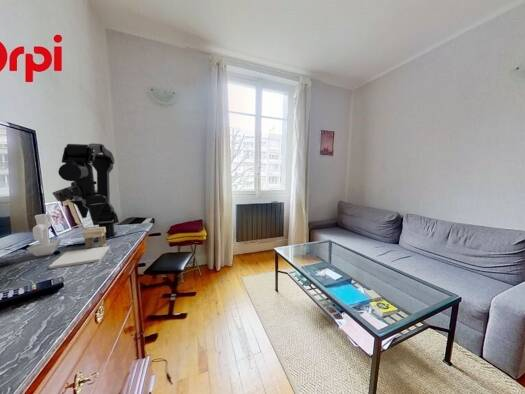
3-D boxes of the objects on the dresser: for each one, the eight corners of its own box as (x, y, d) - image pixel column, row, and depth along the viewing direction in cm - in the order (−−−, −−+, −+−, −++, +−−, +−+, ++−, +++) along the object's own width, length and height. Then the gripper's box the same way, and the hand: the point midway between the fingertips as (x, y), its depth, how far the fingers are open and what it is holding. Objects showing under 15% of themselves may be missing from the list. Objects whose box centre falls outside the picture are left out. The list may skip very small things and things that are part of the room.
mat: (67, 253, 76) (66, 251, 76) (109, 248, 82) (108, 246, 82) (48, 268, 64) (48, 266, 64) (99, 261, 70) (99, 258, 70)
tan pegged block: (89, 244, 86) (87, 228, 85) (107, 242, 88) (105, 226, 87) (84, 249, 80) (82, 232, 79) (103, 246, 83) (101, 230, 82)
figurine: (26, 259, 71) (19, 218, 69) (39, 250, 79) (33, 212, 77) (53, 255, 75) (48, 215, 73) (64, 246, 83) (59, 211, 81)
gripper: (45, 178, 73) (51, 220, 75) (63, 181, 63) (70, 229, 66) (84, 177, 82) (89, 214, 85) (105, 179, 72) (110, 221, 75)
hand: (89, 219), depth 77 cm, fingers open, 9 cm apart
